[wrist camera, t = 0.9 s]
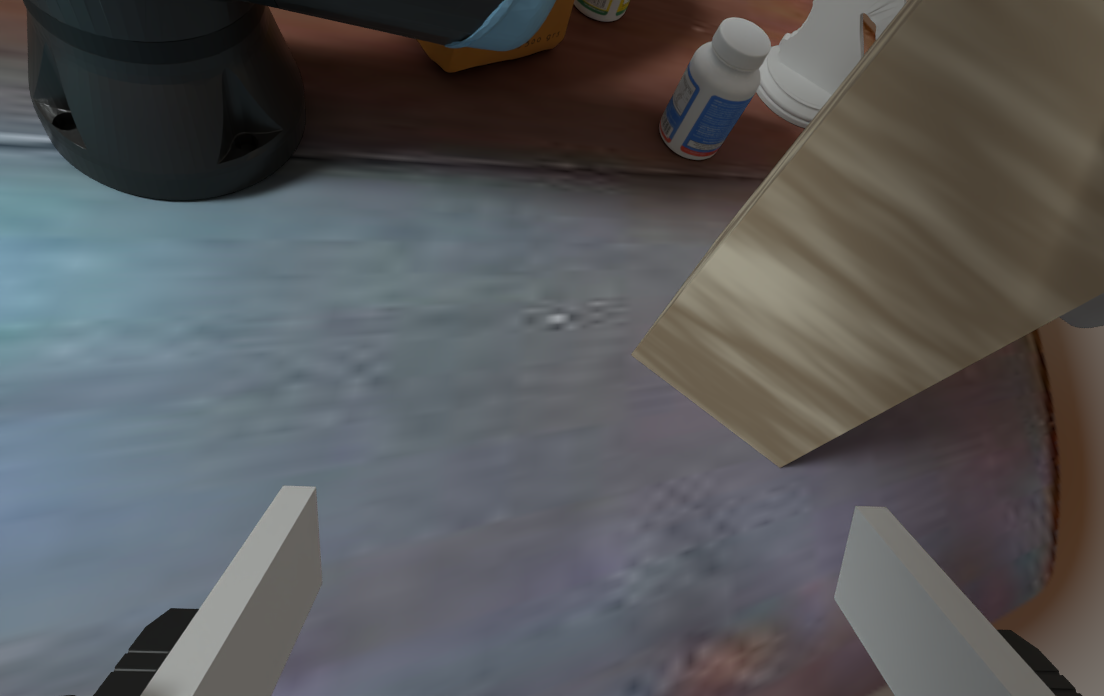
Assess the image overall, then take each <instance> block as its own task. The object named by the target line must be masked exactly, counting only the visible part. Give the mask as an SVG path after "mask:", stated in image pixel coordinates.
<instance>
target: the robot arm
mask: <svg viewBox="0 0 1104 696" xmlns="http://www.w3.org/2000/svg"><path fill="white" fill-rule="evenodd" d="M23 2H24V4H25V6H26V9H27V37H28V81H29V90H30V95H31V99H32V102H33V105H34V108H35V111H36V113H37V115H38V117H39V119H40V121H41V123H42V125H43V127H44V129H45V130H46V132H47V134H48V136H49V138H50V140H51V142H52V143H53V145H54V146H55V148H56V149H57V150H58V151H59V153H60V154H61V155H62V156H63V157H64V158H65V159H66V160H67V161H68V162H69V163H70V164H71V165H73V166H74V167H75V168H76V169H78V170H79V171H81V172H82V173H84V174H85V175H87V176H89V177H90V178H92V179H94V180H96V181H98V182H100V183H102V184H104V185H106V186H109V187H111V188H114V189H117V190H120V191H123V192H126V193H130V194H134V195H138V196H143V197H149V198H157V199H168V200H193V199H203V198H210V197H216V196H221V195H225V194H229V193H232V192H235V191H238V190H241V189H244V188H246V187H249V186H251V185H253V184H255V183H257V182H259V181H261V180H263V179H265V178H266V177H268V176H269V175H271V174H272V173H274V172H275V171H276V170H278V169H279V168H280V167H281V166H282V165H283V164H284V163H285V162H286V161H287V160H288V159H289V158H290V157H291V155H292V154H293V153H294V151H295V150H296V148H297V146H298V144H299V142H300V140H301V138H302V135H303V132H304V128H305V119H306V113H305V98H304V87H303V82H302V78H301V75H300V71H299V69H298V66H297V64H296V62H295V60H294V58H293V56H292V54H291V52H290V50H289V48H288V46H287V44H286V42H285V40H284V38H283V36H282V34H281V32H280V30H279V28H278V26H277V24H276V21H275V19H274V17H273V15H272V13H271V11H270V9H269V7H274V8H279V9H283V10H288V11H292V12H297V13H301V14H306V15H310V16H315V17H319V18H324V19H328V20H333V21H337V22H342V23H346V24H351V25H355V26H360V27H364V28H369V29H373V30H378V31H382V32H387V33H391V34H396V35H400V36H405V37H409V38H414V39H418V40H423V41H427V42H432V43H436V44H440V45H444V46H445V47H448V48H462V47H471V48H478V49H485V50H493V51H509V50H512V49H515V48H518V47H520V46H521V45H523V44H524V43H526V42H527V41H528V40H529V39H530V38H532V37H533V36H534V34H535V33H536V32H537V31H538V30H539V28H540V27H541V26H542V24H543V23H544V21H545V20H546V18H547V16H548V15H549V13H550V11H551V9H552V7H553V6H554V4H555V2H556V0H23ZM268 6H269V7H268ZM321 585H322V571H321V556H320V541H319V526H318V511H317V496H316V487H304V486H283V487H282V488H281V490H280V491H279V493H278V494H277V496H276V497H275V499H274V500H273V502H272V503H271V505H270V506H269V508H268V509H267V510H266V512H265V513H264V515H263V516H262V518H261V519H260V521H259V522H258V524H257V525H256V527H255V528H254V530H253V531H252V532H251V534H250V535H249V537H248V538H247V540H246V541H245V543H244V544H243V546H242V547H241V549H240V550H239V552H238V553H237V555H236V556H235V557H234V559H233V560H232V562H231V563H230V565H229V566H228V568H227V569H226V571H225V572H224V574H223V575H222V577H221V578H220V579H219V581H218V582H217V584H216V585H215V587H214V588H213V590H212V591H211V593H210V594H209V596H208V597H207V599H206V600H205V602H204V603H203V604H202V606H201V607H200V609H177V608H171V609H169V610H168V611H167V612H165V613H164V614H163V615H161V616H160V617H159V618H157V619H156V620H154V621H153V622H152V623H150V624H149V625H148V626H146V627H145V628H144V630H143V631H142V632H141V634H140V635H139V636H138V638H137V639H136V640H135V642H134V643H133V644H132V645H131V647H130V648H129V651H128V654H125V655H124V656H123V657H122V659H121V660H120V661H119V663H118V664H117V665H116V666H115V670H114V672H111V673H110V674H109V676H108V677H107V678H106V680H105V681H104V682H103V684H102V685H101V686H100V687H99V689H98V690H97V691H96V693H95V694H94V695H93V696H271V695H272V693H273V690H274V688H275V686H276V684H277V682H278V679H279V677H280V675H281V673H282V671H283V668H284V666H285V664H286V662H287V660H288V657H289V655H290V653H291V651H292V649H293V646H294V644H295V642H296V640H297V638H298V635H299V633H300V631H301V629H302V627H303V624H304V622H305V620H306V618H307V616H308V613H309V611H310V609H311V607H312V605H313V602H314V600H315V598H316V596H317V594H318V591H319V589H320V587H321ZM834 599H835V601H836V602H837V604H838V605H839V607H840V609H841V610H842V612H843V613H844V615H845V617H846V618H847V620H848V621H849V623H850V625H851V626H852V628H853V630H854V631H855V633H856V634H857V636H858V638H859V639H860V641H861V642H862V644H863V646H864V647H865V649H866V650H867V652H868V654H869V655H870V657H871V658H872V660H873V662H874V663H875V665H876V666H877V668H878V670H879V671H880V673H881V675H882V676H883V678H884V679H885V681H886V683H887V684H888V686H889V687H890V689H891V691H892V692H893V694H894V695H895V696H1082V695H1081V694H1080V693H1076V689H1075V688H1074V687H1073V685H1072V684H1071V683H1070V682H1069V681H1068V680H1067V679H1066V678H1065V677H1064V676H1063V675H1059V671H1058V670H1057V669H1056V667H1055V666H1054V665H1052V663H1051V662H1050V661H1049V660H1048V659H1047V658H1046V657H1045V656H1044V655H1043V654H1042V653H1041V652H1040V651H1039V650H1038V649H1037V648H1036V647H1034V646H1033V645H1031V644H1030V643H1029V642H1027V641H1026V640H1024V639H1023V638H1021V637H1020V636H1018V635H1017V634H1016V633H1014V632H1013V631H1011V630H996V629H995V628H994V627H993V626H992V624H991V623H990V622H989V621H988V620H987V619H986V618H985V617H984V616H983V614H982V613H981V612H980V611H979V610H978V609H977V608H976V607H975V606H974V604H973V603H972V602H971V601H970V600H969V599H968V598H967V597H966V596H965V594H964V593H963V592H962V591H961V590H960V589H959V588H958V587H957V586H956V584H955V583H954V582H953V581H952V580H951V579H950V578H949V577H948V576H947V574H946V573H945V572H944V571H943V570H942V569H941V568H940V567H939V566H938V564H937V563H936V562H935V561H934V560H933V559H932V558H931V557H930V556H929V554H928V553H927V552H926V551H925V550H924V549H923V548H922V547H921V546H920V544H919V543H918V542H917V541H916V540H915V539H914V538H913V537H912V536H911V534H910V533H909V532H908V531H907V530H906V529H905V528H904V527H903V526H902V524H901V523H900V522H899V521H898V520H897V519H896V518H895V517H894V516H893V514H892V513H891V512H890V511H889V510H888V509H887V508H886V507H868V506H855V510H854V515H853V519H852V523H851V528H850V532H849V536H848V540H847V545H846V549H845V553H844V558H843V562H842V566H841V571H840V575H839V579H838V584H837V588H836V592H835V596H834ZM66 696H75V695H66Z"/></svg>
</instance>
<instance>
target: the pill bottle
mask: <svg viewBox="0 0 1104 696" xmlns="http://www.w3.org/2000/svg"><path fill="white" fill-rule="evenodd" d="M770 49H771V43H770V40H769V38H768V36H767V34H766V33H765V32H764V31H763V30H762V29H761V28H760V27H758V26H757V25H755V24H754V23H752V22H750V21H748V20H745V19H742V18H728V19H725V20H724V21H723V22H722V23H721V24H720V26H719V28H718V29H717V31H716V33H715V34H714V36H713V39H712V42H708V43H706V44H704V45H702V46H701V47H699V48H698V49H697V51H696V52H695V54H694V55H693V57H692V59H691V61H690V63H689V65H688V67H687V69H686V71H685V72H684V74H683V76H682V78H681V80H680V82H679V84H678V86H677V88H676V90H675V92H674V94H673V96H672V98H671V100H670V102H669V103H668V105H667V107H666V109H665V111H664V113H663V115H662V117H661V120H660V123H659V131H660V134H661V137H662V139H663V140H664V142H665V143H666V145H667V146H668V147H669V148H670V149H671V150H673V151H674V152H675V153H677V154H678V155H680V156H682V157H685V158H688V159H693V160H703V159H707V158H710V157H712V156H713V155H714V154H715V153H716V152H717V151H718V149H719V148H720V147H721V145H722V143H723V142H724V140H725V139H726V137H727V136H728V134H729V133H730V131H731V130H732V128H733V127H734V125H735V124H736V122H737V121H738V119H739V118H740V116H741V114H742V113H743V111H744V110H745V108H746V107H747V105H748V103H749V102H750V100H751V99H752V97H753V96H754V94H755V92H756V91H757V89H758V87H759V85H760V80H761V75H760V70H759V68H760V67H761V65H762V64H763V62H764V60H765V58H766V57H767V55H768V53H769V52H770Z"/></svg>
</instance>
